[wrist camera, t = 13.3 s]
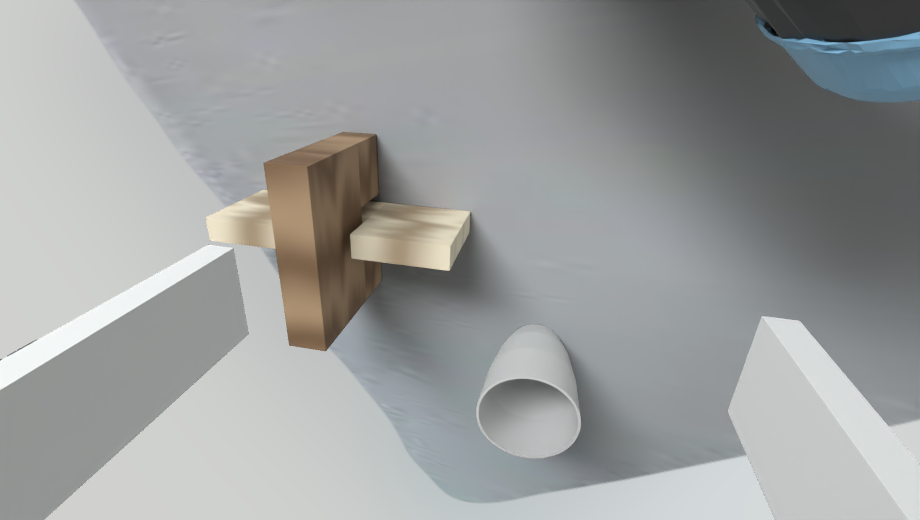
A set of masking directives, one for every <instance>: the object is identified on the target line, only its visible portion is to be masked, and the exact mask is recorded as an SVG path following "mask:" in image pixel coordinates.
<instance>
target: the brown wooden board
mask: <svg viewBox="0 0 920 520" xmlns="http://www.w3.org/2000/svg"><path fill="white" fill-rule="evenodd" d="M264 170H265V177H266V184H267V191H268V198H269V205H270V212H271V219H272V226H273V234H274V241H275V248H276V255H277V262H278V269H279V276H280V282H281V290H282V297H283V304H284V311H285V318H286V325H287V333H288V340H289V345H290V346H296V347H302V348H309V349H315V350H321V351H327V349H328V348H329V347H330V345H331V344H332V343H333V342H334V340H335V339H336V338H337V337H338V335H339V334H340V333H341V331H342V330H343V329H344V328H345V326H346V325H347V324H348V323H349V321H350V320H351V319H352V318H353V316H354V315H355V314H356V312H357V311H358V310H359V309H360V307H361V306H362V305H363V304H364V302H365V301H366V300H367V298H368V297H369V296H370V295H371V293H372V292H373V291H374V290H375V288H376V287H377V286H378V285H379V283H380V282H381V281H382V272H381V262H375V261H367V260H359V259H352V258H351V243H350V234H351V233H352V232H353V231H354V230H356V229H357V228H358V227H359V226H360V225H361V224H362V213H361V207H363V206H364V205H365V204H366V203H368V202H369V201H370V200H371V199H373V198H374V197H375V196H376V195H378V169H377V143H376V134H363V133H350V132H342V133H339V134H337V135H334V136H332V137H329V138H327V139H324V140H321V141H319V142H316V143H314V144H311V145H309V146H306V147H303V148H301V149H298V150H296V151H293V152H290V153H288V154H285V155H283V156H280V157H278V158H275V159H272V160H270V161H267V162H265V163H264Z"/></svg>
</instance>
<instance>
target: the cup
mask: <svg viewBox="0 0 920 520" xmlns="http://www.w3.org/2000/svg"><path fill="white" fill-rule="evenodd" d="M476 417H477V422H478V425H479V427H480V429H481V431H482V432H483V434H484V435H485V436H486V438H487V439H488V440H489V441H490V442H491V443H493V444H494V445H495V446H497V447H498V448H500V449H501V450H503V451H505V452H507V453H510V454H512V455H515V456H519V457H524V458H546V457H551V456H554V455H557V454H559V453H561V452H563V451H565V450H566V449H567V448H569V447H570V446H571V445H572V444H573V443H574V442H575V440H576V439H577V437H578V435H579V432H580V428H581V417H580V408H579V400H578V392H577V384H576V379H575V376H574V373H573V369H572V366H571V362H570V359H569V356H568V353H567V351H566V349H565V348H564V346H563V344H562V343H561V341H560V339H559V337H558V336H557V335H556V334H555V333H554V332H553V331H552V330H551V329H549V328H547V327H545V326H542V325H536V324H531V325H525V326H522V327H520V328H519V329H517V330H516V331H515V332H514V333H513V334H512V335H511V336H510V337H509V338H508V339H507V340H506V341H505V342H504V344H503V345H502V347H501V348H500V350H499V352H498V354H497V356H496V358H495V359H494V361H493V363H492V365H491V367H490V369H489V371H488V374H487V377H486V380H485V383H484V386H483V389H482V391H481V394H480V397H479V400H478V403H477V407H476Z"/></svg>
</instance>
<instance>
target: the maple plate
mask: <svg viewBox="0 0 920 520" xmlns="http://www.w3.org/2000/svg"><path fill="white" fill-rule="evenodd" d="M361 213H362V224H361V225H360V226H359V227H358V228H357V229H356V230H354V231H353V232H352V233H351V234H350V243H351V258H352V259H359V260H367V261H375V262H383V263H391V264H399V265H407V266H415V267H423V268H431V269H438V270H446V271H450V269H451V267H452V265H453V263H454V261H455V259H456V257H457V256H458V254H459V252H460V250H461V248H462V246H463V244H464V242H465V240H466V238H467V236H468V234H469V231H470V211H461V210H451V209H441V208H432V207H422V206H413V205H403V204H394V203H384V202H374V201H369V202H368V203H366V204H365V205H364V206H363V207H361ZM206 222H207V227H208V232H209V237H210V241H217V242H225V243H234V244H241V245H249V246H257V247H265V248H273V249H276V248H275V241H274V234H273V226H272V219H271V212H270V205H269V198H268V191H267V190H262V191H260V192H258V193H256V194H254V195H251V196H249V197H247V198H245V199H243V200H241V201H239V202H237V203H235V204H233V205H230V206H228V207H226V208H224V209H222V210H220V211H218V212H216V213H214V214H212V215H209V216H207V217H206Z"/></svg>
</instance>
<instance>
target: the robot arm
mask: <svg viewBox="0 0 920 520" xmlns="http://www.w3.org/2000/svg"><path fill="white" fill-rule="evenodd" d="M746 1H747V2H748V4H749V5H750V6H751V8H752V9H753V10H754V11H755V13H756V18H755V21H756V23H757V25H758V27H759V28H760V30H761V31H762V32H763V34H764V35H765V36H766V37H767V38H769V39H770V40H772V41H774V42H775V43H777V44H779V45H780V46H782V47H783V48H784V49H785V50H786V51H787V52H788V54H789V55H790V56H791V57H792V58H793V59H794V61H795V62H796V63H797V64H798V65H799V66H800V67H801V69H802V70H803V71H804V72H805V73H806V74H807V76H808V77H809V78H810V79H811V80H812V81H813V82H814V83H816V84H817V85H818V86H820V87H821V88H823V89H825V90H827V91H831V92H835V93H837V94H839V95H841V96H843V97H849V98H851V99H854V100H858V101H867V102H909V101H920V0H746ZM248 334H249V332H248V327H247V321H246V316H245V311H244V304H243V299H242V293H241V288H240V282H239V276H238V271H237V265H236V260H235V254H234V249H233V248H229V247H220V246H213V245H207V246H205V247H204V248H202V249H200V250H198V251H196V252H194V253H193V254H191V255H189V256H187V257H185V258H184V259H182V260H180V261H178V262H177V263H175V264H173V265H171V266H169V267H168V268H166V269H164V270H162V271H160V272H159V273H157V274H155V275H153V276H151V277H150V278H148V279H146V280H144V281H142V282H141V283H139V284H137V285H135V286H133V287H132V288H130V289H128V290H126V291H124V292H123V293H121V294H119V295H117V296H115V297H114V298H112V299H110V300H108V301H106V302H105V303H103V304H101V305H99V306H97V307H96V308H94V309H92V310H91V311H89V312H87V313H85V314H83V315H81V316H80V317H78V318H76V319H74V320H72V321H71V322H69V323H67V324H65V325H63V326H62V327H60V328H58V329H56V330H55V331H53V332H51V333H49V334H47V335H46V336H44V337H42V338H40V339H37V340H35V341H33V342H31V343H29V344H27V345H26V346H24V347H22V348H20V349H18V350H17V351H15V352H13V353H11V354H10V355H8V356H7V357H6V358H4V359H0V520H44V519H45V518H46V517H48V516H49V515H50V514H51V513H52V512H53V511H54V510H55V509H56V508H57V507H59V506H60V505H61V504H62V503H63V502H64V501H65V500H66V499H67V498H68V497H70V496H71V495H72V494H73V493H74V492H75V491H76V490H77V489H78V488H80V486H82V485H83V484H84V483H85V482H86V481H87V480H88V479H89V478H91V477H92V476H93V475H94V474H95V473H96V472H97V471H98V470H99V469H101V468H102V467H103V466H104V465H105V464H106V463H107V462H108V461H109V460H110V459H111V458H113V457H114V456H115V455H116V454H117V453H118V452H119V451H120V450H121V449H122V448H124V447H125V446H126V445H127V444H128V443H129V442H130V441H131V440H132V439H134V438H135V437H136V436H137V435H138V434H139V433H140V432H141V431H142V430H144V429H145V427H147V426H148V425H149V424H150V423H151V422H152V421H153V420H155V418H157V417H158V416H159V415H160V414H161V413H162V412H163V411H164V410H165V409H167V408H168V407H169V406H170V405H171V404H172V403H173V402H174V401H175V400H176V399H178V398H179V397H180V396H181V395H182V394H183V393H184V392H185V391H186V390H188V389H189V388H190V387H191V386H192V385H193V384H194V383H195V382H196V381H198V380H199V379H200V378H201V377H202V376H203V375H204V374H205V373H206V372H207V371H208V370H210V369H211V368H212V367H213V366H214V365H215V364H216V363H217V362H218V361H220V360H221V359H222V358H223V357H224V356H225V355H226V354H227V353H228V352H229V351H230V350H232V349H233V348H234V347H235V346H236V345H237V344H238V343H239V342H240V341H242V340H243V339H244V338H245V337H246V336H247V335H248ZM728 413H729V416H730V418H731V420H732V423H733V425H734V427H735V429H736V432H737V434H738V436H739V439H740V441H741V443H742V445H743V448H744V450H745V452H746V455H747V457H748V459H749V461H750V464H751V466H752V468H753V471H754V473H755V475H756V477H757V480H758V482H759V484H760V486H761V489H762V491H763V493H764V496H765V498H766V500H767V502H768V505H769V507H770V509H771V511H772V514H773V516H774V518H775V520H920V463H919V462H918V461H917V460H916V458H915V457H914V456H913V455H912V454H911V453H910V451H909V450H908V449H907V448H906V447H905V445H904V444H903V443H902V442H901V441H900V440H899V438H898V437H897V436H896V435H895V434H894V432H893V431H892V430H891V429H890V428H889V426H888V425H887V424H886V423H885V422H884V420H883V419H882V418H881V417H880V416H879V415H878V413H877V412H876V411H875V410H874V409H873V407H872V406H871V405H870V404H869V403H868V401H867V400H866V399H865V398H864V397H863V396H862V394H861V393H860V392H859V391H858V390H857V388H856V387H855V386H854V385H853V384H852V382H851V381H850V380H849V379H848V378H847V377H846V375H845V374H844V373H843V372H842V371H841V369H840V368H839V367H838V366H837V365H836V363H835V362H834V361H833V360H832V359H831V358H830V356H829V355H828V354H827V353H826V352H825V350H824V349H823V348H822V347H821V346H820V344H819V343H818V342H817V341H816V340H815V339H814V337H813V336H812V335H811V334H810V333H809V331H808V330H807V329H806V328H805V327H804V325H803V324H802V323H801V322H800V321H797V320H789V319H781V318H773V317H766V316H762V317H761V320H760V323H759V325H758V328H757V331H756V334H755V337H754V339H753V342H752V345H751V348H750V350H749V353H748V356H747V359H746V362H745V364H744V367H743V370H742V373H741V375H740V378H739V381H738V384H737V387H736V389H735V392H734V395H733V398H732V400H731V403H730V406H729V409H728Z"/></svg>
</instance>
